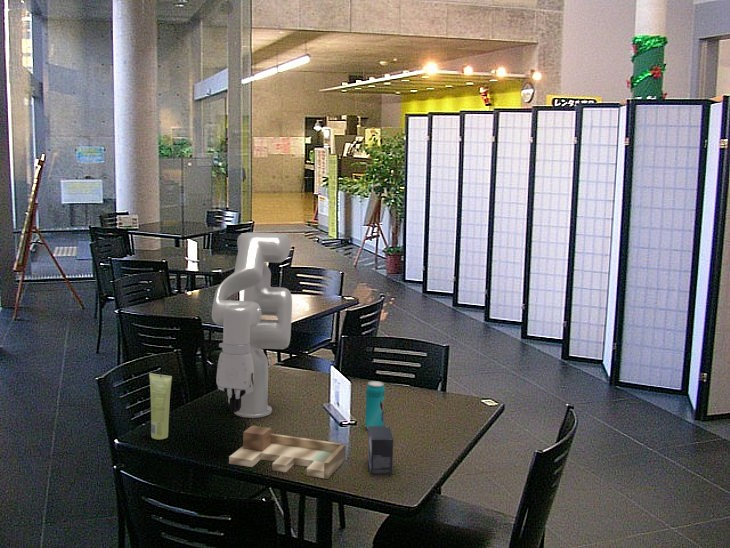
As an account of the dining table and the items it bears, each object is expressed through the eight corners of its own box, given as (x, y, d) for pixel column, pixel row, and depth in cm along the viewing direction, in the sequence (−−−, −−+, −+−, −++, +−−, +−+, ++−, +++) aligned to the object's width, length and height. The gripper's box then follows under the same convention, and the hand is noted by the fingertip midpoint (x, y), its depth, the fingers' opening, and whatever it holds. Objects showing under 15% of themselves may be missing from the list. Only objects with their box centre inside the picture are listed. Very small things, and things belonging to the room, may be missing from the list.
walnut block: (243, 448, 233) (243, 432, 232) (251, 441, 239) (252, 425, 238) (262, 451, 231) (262, 434, 231) (270, 444, 237) (271, 428, 236)
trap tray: (227, 463, 227) (227, 447, 226) (249, 444, 242) (249, 430, 241) (328, 479, 219) (328, 463, 218) (345, 459, 233) (345, 444, 233)
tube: (168, 433, 249) (168, 371, 246) (171, 438, 244) (172, 375, 241) (149, 435, 246) (149, 373, 243) (152, 441, 242) (152, 377, 239)
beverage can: (381, 432, 256) (383, 386, 254) (363, 430, 257) (365, 385, 255) (384, 426, 262) (386, 381, 260) (367, 424, 263) (368, 380, 261)
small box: (366, 460, 233) (367, 425, 232) (388, 460, 234) (390, 425, 232) (369, 475, 223) (371, 438, 221) (393, 475, 223) (394, 438, 222)
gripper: (206, 348, 231) (205, 411, 233) (255, 353, 227) (253, 417, 229) (218, 343, 238) (217, 404, 240) (265, 348, 234) (264, 410, 236)
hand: (235, 410), depth 235 cm, fingers closed
